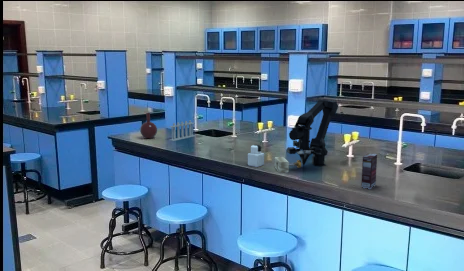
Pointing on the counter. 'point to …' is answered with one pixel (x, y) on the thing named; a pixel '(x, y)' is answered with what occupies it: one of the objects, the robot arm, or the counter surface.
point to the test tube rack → (181, 131)
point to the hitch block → (281, 165)
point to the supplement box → (369, 170)
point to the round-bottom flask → (148, 128)
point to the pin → (296, 164)
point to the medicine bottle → (255, 156)
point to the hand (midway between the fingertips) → (303, 164)
